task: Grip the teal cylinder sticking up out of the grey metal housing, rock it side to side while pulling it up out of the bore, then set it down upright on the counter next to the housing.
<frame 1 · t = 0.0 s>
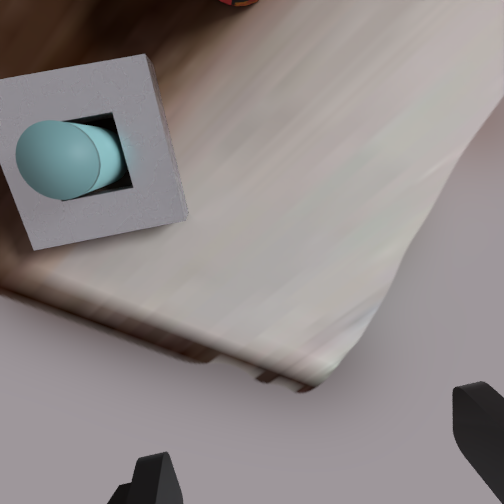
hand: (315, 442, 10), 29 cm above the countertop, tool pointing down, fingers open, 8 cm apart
teal cylinder: (82, 158, 30), in the housing
housing: (100, 156, 34), on the countertop
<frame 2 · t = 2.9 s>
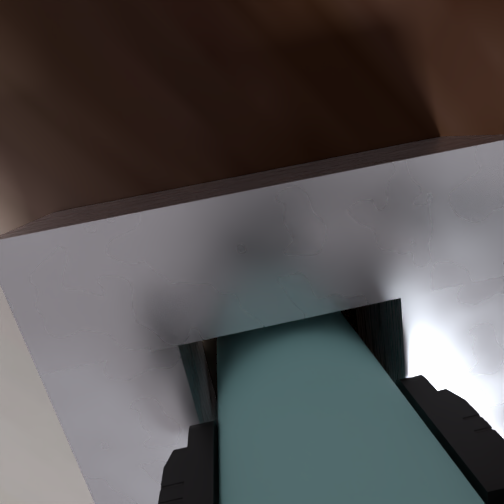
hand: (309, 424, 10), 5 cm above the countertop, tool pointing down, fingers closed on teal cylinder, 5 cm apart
teal cylinder: (314, 437, 10), in the housing, touching gripper
housing: (282, 343, 15), on the countertop
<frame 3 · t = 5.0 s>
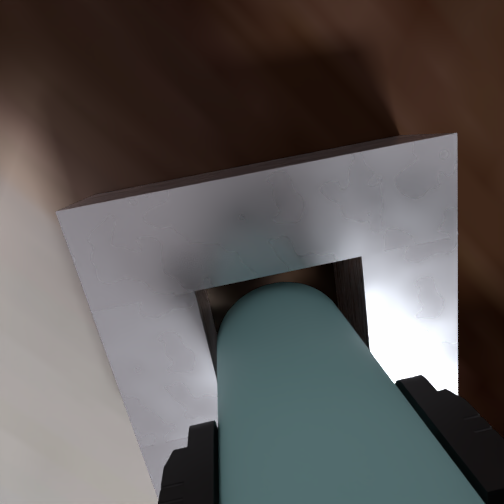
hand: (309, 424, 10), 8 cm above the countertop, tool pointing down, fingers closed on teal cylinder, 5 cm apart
teal cylinder: (314, 437, 10), point 8 cm above the countertop, touching gripper
housing: (274, 303, 18), on the countertop
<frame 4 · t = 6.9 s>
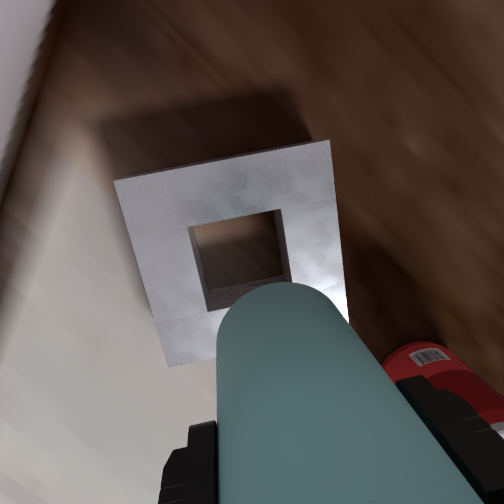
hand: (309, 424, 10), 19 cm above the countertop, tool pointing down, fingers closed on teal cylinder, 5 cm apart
teal cylinder: (313, 437, 10), point 20 cm above the countertop, touching gripper
canned food: (411, 372, 34), on the countertop
housing: (238, 246, 29), on the countertop
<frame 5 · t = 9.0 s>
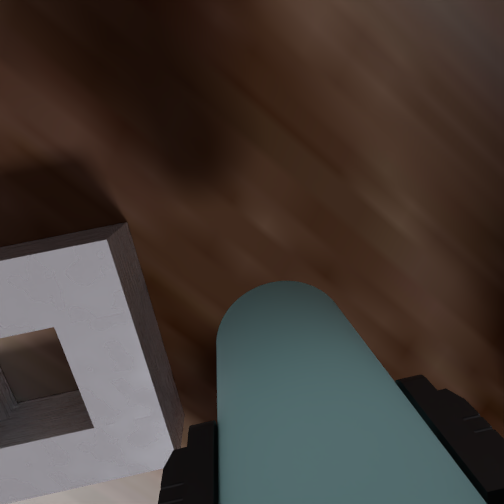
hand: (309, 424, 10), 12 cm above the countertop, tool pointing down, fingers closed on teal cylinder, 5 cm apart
teal cylinder: (314, 436, 10), point 13 cm above the countertop, touching gripper
housing: (48, 350, 22), on the countertop
when the fingers open (6 cm above the countertop, at t = 10.7 s): teal cylinder drops 1 cm, on the countertop.
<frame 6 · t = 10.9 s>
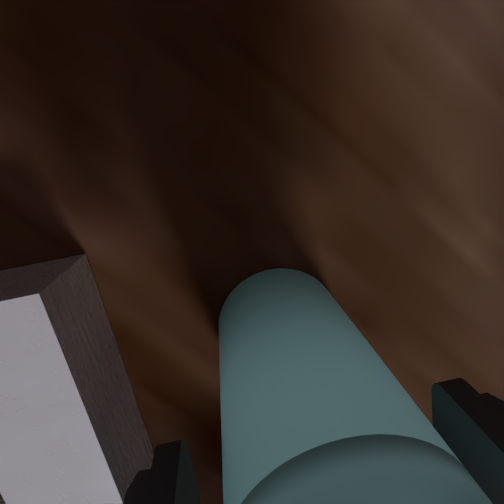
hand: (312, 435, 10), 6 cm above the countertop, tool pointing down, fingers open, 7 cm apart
teal cylinder: (305, 400, 11), on the countertop
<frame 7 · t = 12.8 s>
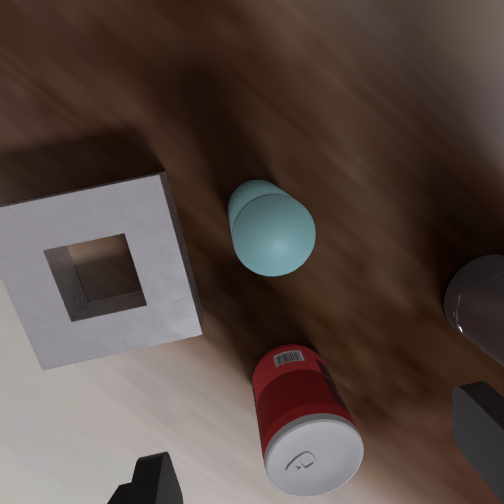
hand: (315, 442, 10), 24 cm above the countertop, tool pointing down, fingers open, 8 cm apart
teal cylinder: (264, 221, 28), on the countertop
canned food: (287, 372, 38), on the countertop
housing: (110, 263, 33), on the countertop
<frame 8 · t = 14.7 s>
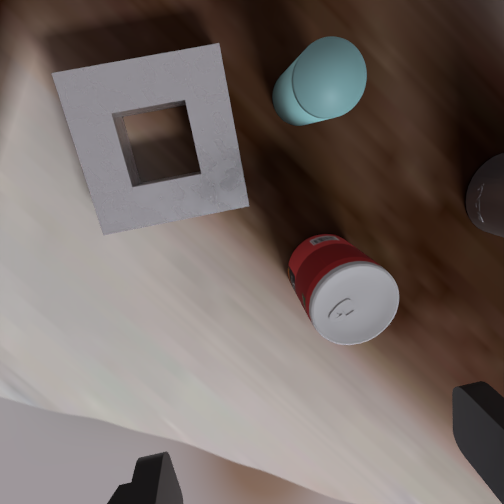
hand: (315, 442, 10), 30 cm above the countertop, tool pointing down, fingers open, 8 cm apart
teal cylinder: (312, 89, 31), on the countertop
canned food: (319, 264, 41), on the countertop
housing: (164, 144, 35), on the countertop
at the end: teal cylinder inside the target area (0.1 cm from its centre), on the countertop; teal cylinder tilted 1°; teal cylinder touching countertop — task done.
